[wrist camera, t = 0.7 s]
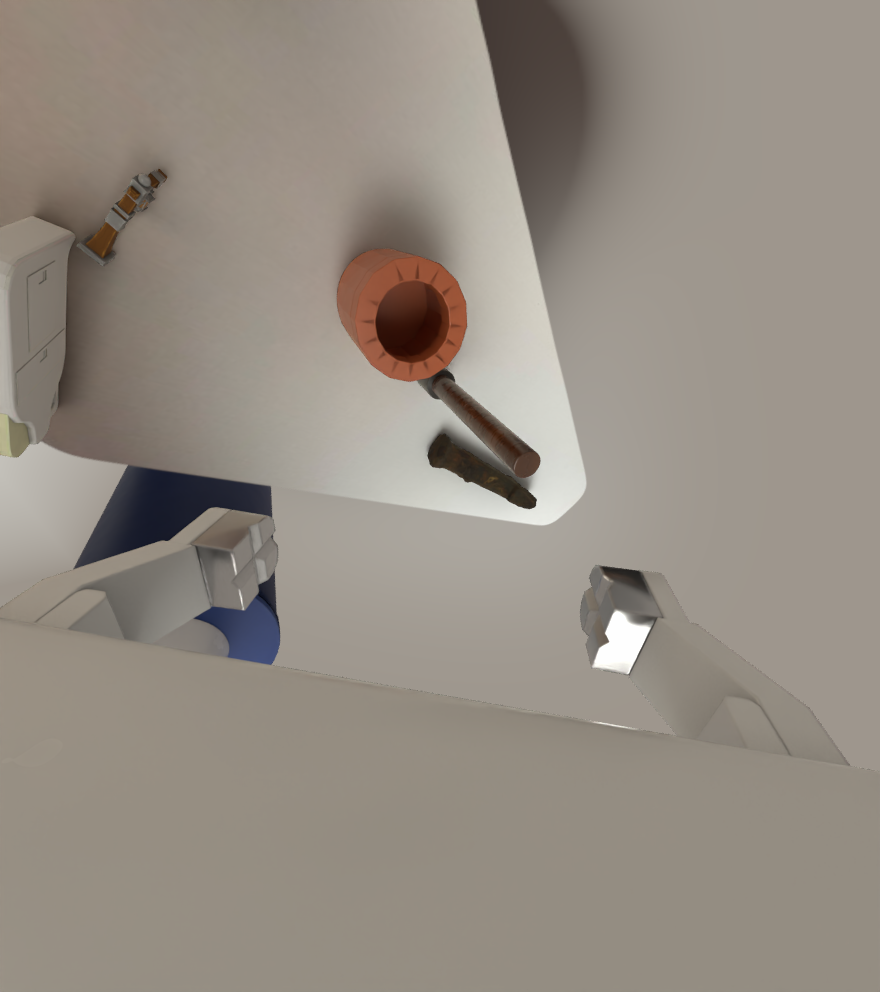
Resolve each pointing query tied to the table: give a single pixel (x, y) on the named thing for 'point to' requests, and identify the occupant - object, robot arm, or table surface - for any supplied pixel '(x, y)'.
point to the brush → (483, 424)
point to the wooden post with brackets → (122, 216)
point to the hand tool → (478, 472)
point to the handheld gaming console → (31, 328)
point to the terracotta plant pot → (402, 313)
